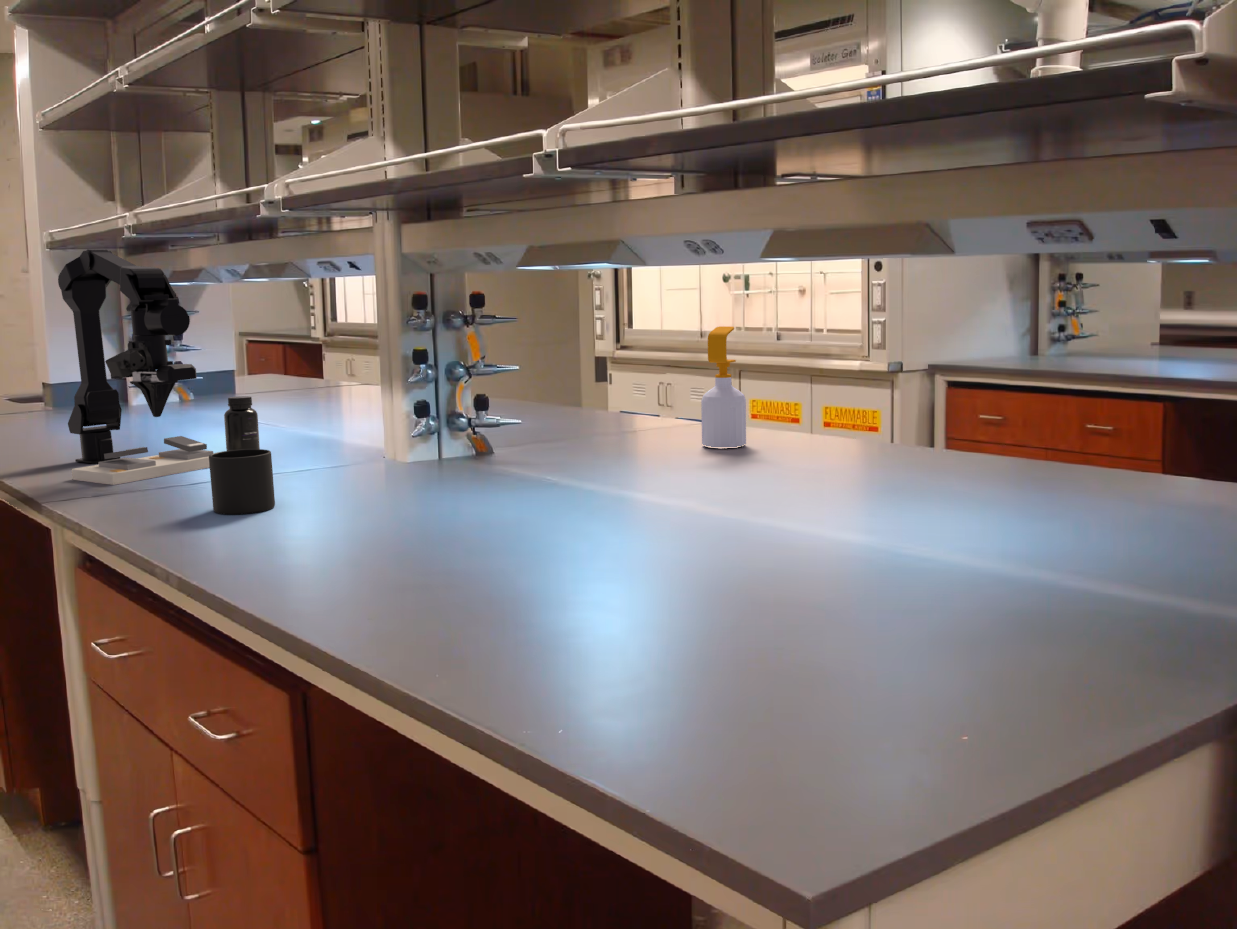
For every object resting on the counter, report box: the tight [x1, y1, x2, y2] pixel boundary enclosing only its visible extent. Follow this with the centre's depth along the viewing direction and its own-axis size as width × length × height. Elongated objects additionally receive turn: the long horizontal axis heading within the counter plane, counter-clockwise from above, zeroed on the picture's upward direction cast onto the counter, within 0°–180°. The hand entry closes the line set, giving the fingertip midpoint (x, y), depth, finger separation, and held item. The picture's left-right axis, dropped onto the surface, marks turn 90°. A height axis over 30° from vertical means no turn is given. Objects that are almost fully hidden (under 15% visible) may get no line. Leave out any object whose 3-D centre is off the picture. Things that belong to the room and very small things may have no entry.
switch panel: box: [71, 448, 215, 486], centre depth 220 cm, size 13×25×3 cm, turn 147°
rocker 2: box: [163, 435, 208, 452], centre depth 225 cm, size 8×4×1 cm, turn 57°
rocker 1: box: [104, 446, 149, 459], centre depth 215 cm, size 8×4×1 cm, turn 57°
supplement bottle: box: [223, 395, 261, 451], centre depth 241 cm, size 7×7×12 cm
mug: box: [209, 448, 276, 516], centre depth 182 cm, size 9×12×9 cm
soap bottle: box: [700, 325, 747, 447], centre depth 232 cm, size 9×9×25 cm
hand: (157, 416), depth 217 cm, fingers closed
